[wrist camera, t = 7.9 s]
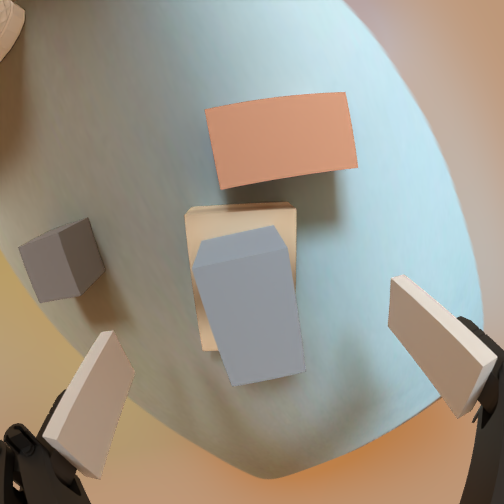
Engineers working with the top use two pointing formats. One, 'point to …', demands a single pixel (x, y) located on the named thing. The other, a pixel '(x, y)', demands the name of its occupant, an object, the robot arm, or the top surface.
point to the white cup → (9, 25)
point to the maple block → (229, 222)
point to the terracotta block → (281, 138)
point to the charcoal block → (62, 261)
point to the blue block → (251, 304)
